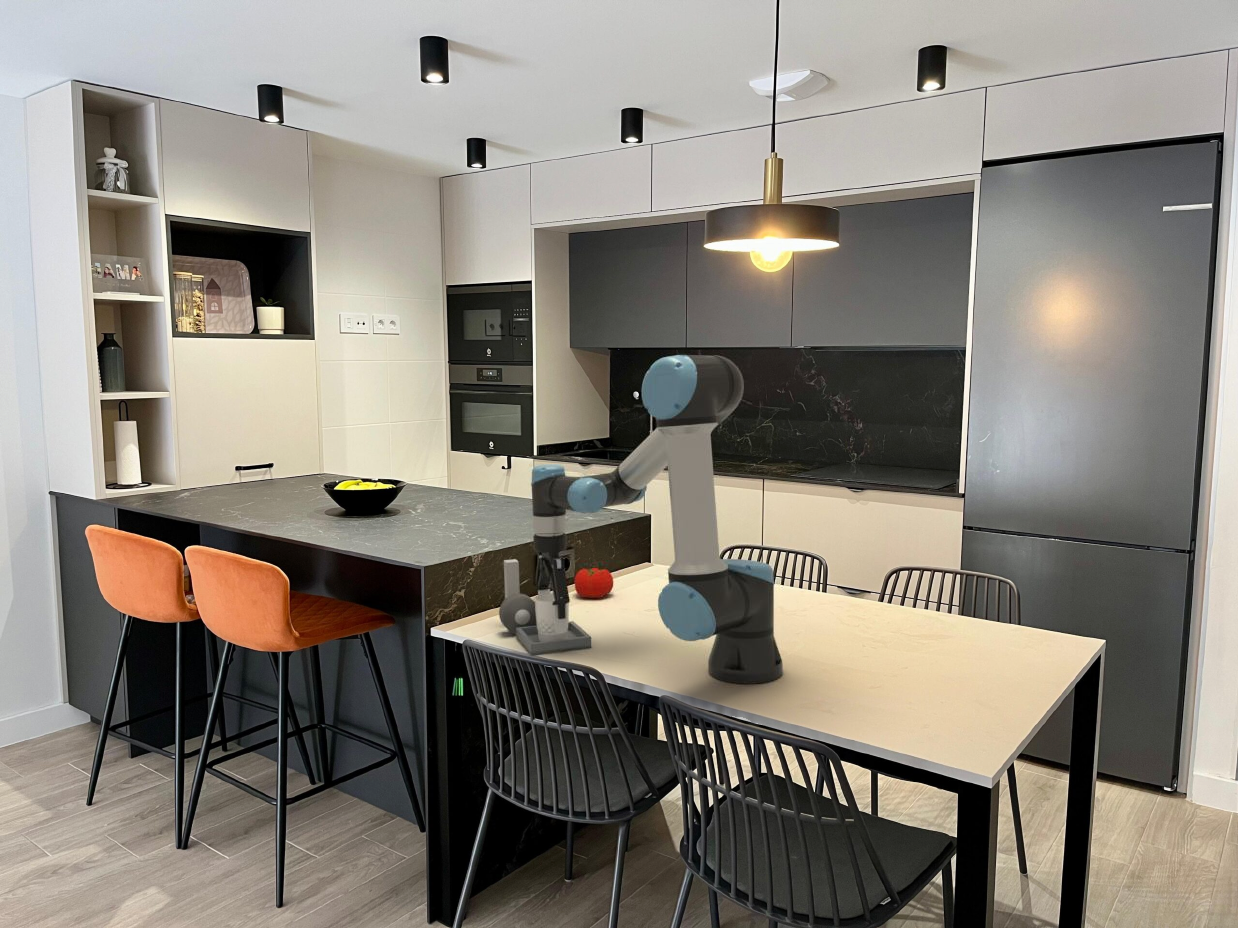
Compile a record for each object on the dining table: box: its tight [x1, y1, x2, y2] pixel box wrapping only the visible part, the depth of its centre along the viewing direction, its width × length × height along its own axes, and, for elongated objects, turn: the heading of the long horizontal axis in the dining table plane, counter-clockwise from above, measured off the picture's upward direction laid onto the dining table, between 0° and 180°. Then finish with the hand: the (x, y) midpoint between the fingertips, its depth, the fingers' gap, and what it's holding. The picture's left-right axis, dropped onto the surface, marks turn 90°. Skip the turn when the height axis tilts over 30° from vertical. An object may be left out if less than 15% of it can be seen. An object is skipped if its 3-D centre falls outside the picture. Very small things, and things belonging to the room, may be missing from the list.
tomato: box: [574, 567, 614, 599], centre depth 250 cm, size 11×11×8 cm
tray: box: [515, 620, 593, 656], centre depth 208 cm, size 14×14×2 cm
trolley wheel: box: [498, 558, 537, 636], centre depth 219 cm, size 12×9×16 cm
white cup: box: [534, 592, 570, 642], centre depth 208 cm, size 8×8×10 cm
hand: (552, 624), depth 208 cm, fingers open, 13 cm apart
